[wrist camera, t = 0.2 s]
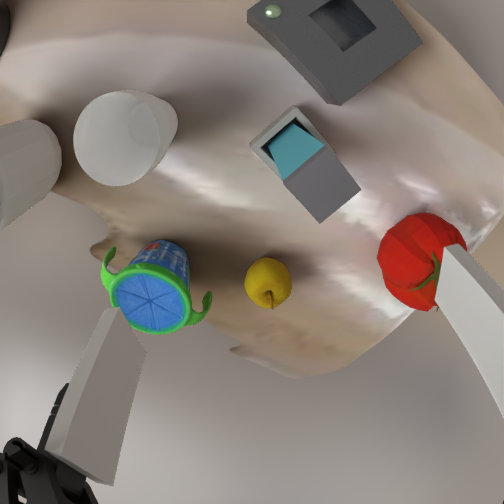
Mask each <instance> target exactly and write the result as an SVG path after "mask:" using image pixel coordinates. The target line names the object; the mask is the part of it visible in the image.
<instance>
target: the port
mask: <svg viewBox="0 0 504 504" xmlns="http://www.w3.org/2000/svg"><path fill="white" fill-rule="evenodd" d="M247 23H248V24H249V25H250V26H252V27H253V28H254V29H255V30H256V31H257V32H258V33H259V34H260V35H262V36H263V37H264V38H265V39H266V40H267V41H268V42H269V43H270V44H271V45H272V46H273V47H274V48H275V49H276V50H277V51H278V52H280V53H281V54H282V55H283V56H284V57H285V58H286V59H287V60H288V61H289V62H290V64H291V65H292V66H293V67H294V68H295V69H296V70H297V71H298V72H299V73H300V74H301V75H302V76H303V77H304V78H305V79H306V80H307V81H308V83H309V84H310V85H311V86H312V87H313V88H314V89H315V90H316V91H317V93H318V94H319V95H320V96H321V97H322V98H323V99H324V101H325V102H326V103H327V104H333V105H339V106H341V105H342V104H343V103H345V102H346V101H347V100H348V99H350V98H351V97H352V96H353V95H355V94H356V93H357V92H358V91H360V90H361V89H362V88H364V87H365V86H366V85H367V84H369V83H370V82H371V81H373V80H374V79H375V78H376V77H378V76H379V75H380V74H382V73H383V72H384V71H386V70H387V69H388V68H390V67H391V66H392V65H394V64H395V63H396V62H398V61H399V60H400V59H402V58H403V57H405V56H406V55H407V54H409V53H410V52H411V51H413V50H414V49H416V48H417V47H418V46H420V45H421V44H423V42H422V40H421V39H420V37H419V36H418V34H417V33H416V32H415V30H414V29H413V28H412V26H411V25H410V24H409V22H408V21H407V20H406V19H405V17H404V16H403V15H402V14H401V12H400V11H399V10H398V9H397V7H396V6H395V5H394V4H393V3H392V2H391V0H261V1H259V2H258V3H257V4H255V5H254V6H253V7H251V8H250V9H249V10H247Z"/></svg>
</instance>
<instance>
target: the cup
mask: <svg viewBox="0 0 504 504" xmlns="http://www.w3.org/2000/svg"><path fill="white" fill-rule="evenodd" d="M177 128H178V118H177V114H176V112H175V110H174V108H173V107H172V106H171V105H170V104H169V103H168V102H166V101H164V100H162V99H159V98H157V97H155V96H153V95H150V94H148V93H145V92H143V91H139V90H132V89H126V90H120V91H116V92H111V93H107V94H104V95H101V96H99V97H97V98H96V99H94V100H93V101H91V102H90V103H89V104H88V105H87V106H86V107H85V108H84V110H83V111H82V112H81V114H80V116H79V118H78V120H77V122H76V125H75V129H74V136H73V144H74V151H75V155H76V158H77V160H78V162H79V164H80V166H81V167H82V169H83V170H84V171H85V173H86V174H87V175H88V176H90V177H91V178H92V179H93V180H95V181H97V182H99V183H101V184H104V185H108V186H124V185H128V184H131V183H133V182H135V181H137V180H138V179H140V178H141V177H142V176H144V175H145V174H147V173H149V172H150V171H152V170H153V169H154V168H155V167H156V166H157V165H158V164H159V163H160V161H161V160H162V159H163V157H164V155H165V154H166V152H167V150H168V148H169V146H170V144H171V142H172V140H173V138H174V136H175V134H176V132H177Z"/></svg>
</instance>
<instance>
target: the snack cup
mask: <svg viewBox="0 0 504 504" xmlns="http://www.w3.org/2000/svg"><path fill="white" fill-rule="evenodd" d="M115 253H116V247H115V246H114V247H112V248H111V249H110V250H109V251H108V252H107V254H106V256H105V258H104V260H103V263H102V267H101V279H102V283H103V284H104V286H105V288H106V289H107V290H108V292H109V294H110V301H111V304H112V307H113V308H116V307H120V309H121V310H122V312H123V314H124V316H125V317H126V319H127V321H128V322H129V324H130V326H131V327H133V328H135V329H137V330H139V331H142V332H145V333H150V334H158V335H160V334H168V333H172V332H175V331H177V330H179V329H180V328H182V327H183V326H188V325H194V324H196V323H198V322H200V321H201V320H202V319H203V318H204V317H205V315H206V314H207V312H208V310H209V308H210V306H211V302H212V293H211V292H210V291H208V292H207V293H206V295H205V296H204V298H203V301H202V303H203V312H200V313H198V312H195V311H194V310H193V309H192V300H191V295H190V292H189V291H190V284H189V281H190V272H189V270H190V267H189V261H188V258H187V256H186V253H185V251H184V250H183V249H182V248H180V247H178V246H177V245H176V244H174V243H171V242H168V241H164V240H157V241H155V242H152V243H150V244H148V245H146V246H145V247H144V248H143V249H142V250H141V251H140V253H138V255H137V256H136V257H135V258H134V259H133V260H132V261H131V262H130V264H129V265H128V266H127V267H125V268H124V269H122V270H121V271H120V272H119V273H116V274H112V273H111V272H110V271H108V270H107V269H106V267H107V265H108V263H109V262H110V261H111V260H112V258H114V256H115Z"/></svg>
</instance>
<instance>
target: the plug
mask: <svg viewBox="0 0 504 504" xmlns="http://www.w3.org/2000/svg"><path fill="white" fill-rule="evenodd" d="M267 144H268V147H269V149H270V152H271V154H272V156H273V159H274V161H275V164H276V166H277V168H278V171H279V173H280V176H281V178H282V181H283V183H284V185H285V186H286V188H287V189H288V190H289V191H290V192H291V193H292V194H293V195H294V196H295V197H296V198H297V199H298V200H299V201H300V203H301V204H302V205H303V206H304V207H305V208H306V209H307V210H308V211H309V212H310V213H311V215H312V216H313V217H314V218H315V219H316V220H317V221H318V222H319V223H321V222H323V221H324V220H325V219H326V218H328V217H329V216H330V215H331V214H332V213H334V212H335V211H336V210H337V209H339V208H340V207H341V206H342V205H344V204H345V203H346V202H347V201H348V200H350V199H351V198H352V197H353V196H354V195H356V194H357V193H358V192H359V191H361V188H360V187H359V186H358V184H357V183H356V182H355V180H354V179H353V178H352V176H351V175H350V174H349V173H348V171H347V170H346V169H345V167H344V166H343V165H342V164H341V162H340V161H339V160H338V159H337V157H336V156H335V155H334V154H333V152H332V151H331V150H330V149H329V148H328V147H327V146H326V145H324V144H323V143H321V142H320V141H318V140H317V139H316V138H314V137H313V136H311V135H310V134H308V133H307V132H305V131H304V130H302V129H301V128H299V127H298V126H296V125H295V124H293V123H292V122H291V123H290V124H289V125H288V126H287V127H286V128H284V129H283V130H282V131H281V132H280V133H279V134H278V135H276V136H275V137H274V138H273V139H272V140H271V141H270V142H268V143H267Z"/></svg>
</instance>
